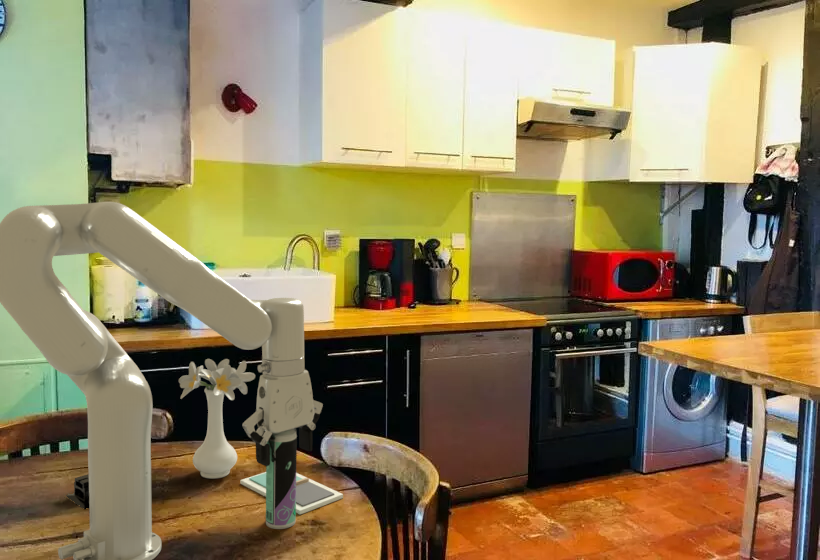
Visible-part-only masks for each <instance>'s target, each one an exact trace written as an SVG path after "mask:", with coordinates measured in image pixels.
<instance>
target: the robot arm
mask: <svg viewBox="0 0 820 560" xmlns="http://www.w3.org/2000/svg"><path fill="white" fill-rule="evenodd" d="M95 253H97V254H98V253H99V254H100V255H101V256H103V257H105V258H106V259H107V260H109V261H110V262H111V263H113V264H115V266H116V267H119V268H120V269H122V270H123V271H125V272H126V273H128V274H129V275H130V276H132V277H134V279H136V280H138V281H139V282H140V283H142V284H143V285H145V286H146V287H147V288H148V289H150V290H151V291H153V292H154V293H156V294H157V295H158V296H160V297H161V298H163V299H164V300H166V301H167V302H168V303H170V304H172V305H174V306H177V307H178V308H179V309H182V310H184V311H185V312H186V313H188V314H190V315H191V316H192V317H194V318H195V319H197V320H198V321H199V322H201V323H203V324H204V325H206V327H208V328H210V329H211V330H213V331H214V332H215V333H217V334H218V335H220V336H221V337H222V338H224V339H226V340H227V341H228V342H229V343H230V344H232V345H233V346H235V347H237V348H239V349H241V350H248V351H249V350H256V349H258V348H260V347H261V351H262V352H261V353H262V355H261V364H258V365H257V371H258V373H262V374H261V375H260V376H259V380H258V387H257V393H256V394H257V395H256V406H255V407H256V409H255V412H253V414H251V415H250V416H249V417H248V418H246V420H244V422H242V428H243V429H244V432H245V433H246V436H247V437H248V438H249V439H250V440H252V442H254V443H255V458H256V462H257V463H258V464H260V465H263V466H265V467H266V466H269V465H270V445H269V444H267V441H268V440H269V438H270V436H271V435H272V433H281V432H284V431H288V430H291V429H297V428H298V429H299V430H298V441H299V445H298V447H299V448H300V449H301V450H304V451H306V452H312V451H313V444H314V443H313V442H314V441H313V431H314V430H315V429H316V424H317V422H318V421H319V419H320V414H321V413H322V410H323V407H324V406H323V405H324V404H323V403H322V402H320V401H317V400H314V398H313V397H314V395H313V389H312V382H311V377H310V373H309V371H308V370H307V369H305V311H304V310H305V309H304V304H303V302H302V301H301V300H300V299H297V298H294V297H277V298H275V297H274V298H269V299H251V298H249V297H247V296H246V295H244V294H243V293H242V292H240V291H239V290H238V289H236V288H235V287H234V286H232V285H231V284H229V283H228V282H227V281H226V280H224V279H223V278H221V277H220V276H219V275H218V274H217V273H215V272H214V271H212V270H211V269H210V268H209V267H208V266H206V264H205V263H203V261H201V260H200V259H199V258H197V257H196V256H195V255H194V254H192V253H191V252H190V251H188V250H187V249H185V248H184V247H182V246H181V245H180V244H178V243H177V242H176V241H175V240H173V239H172V238H171V237H169V236H168V235H166V234H165V232H162V231H161V230H160V229H158V228H157V227H156V226H155V225H153V224H152V223H150V222H149V221H147V220H146V219H145V218H144V217H143V216H141V215H140V214H138V213H137V212H136V211H134V210H133V209H132V208H130V207H128V206H127V205H125V204H123V203H121V202H115V201H99V202H89V203H75V204H73V203H71V204H51V205H49V204H48V205H47V204H46V205H45V204H44V205H43V204H42V205H27V206H25V205H24V206H21V207H17V208H16V209H13V210H12V211H10V212H9V213H7V214H6V215H5V216H4V217H3V219H2V220H1V221H0V304H1V305H2V307H3V308H4V309H5V310H6V311H7V313H8V314H9V315H10V316H11V319H13V321H15V322H16V324H17V325H18V327H19V328H20V329H21V330H22V332H23V333H24V334H25V335H26V336H27V338H28V339H29V340H30V341H31V342H32V344H33V345H35V347H36V348H37V349H38V350H39V351H40V353H41V354H42V356H43V357H44V358H45V360H46V362H47V363H48V364H49V365H50V366H51V367H52V368H53V369H54V370H55V371H58V372H59V373H61V374H64V375H67V377H68V378H69V379H70V380H71V381H72V382H73V383H74V384H75V385H76V387H77V388H78V389H79V390H80V391H81V393H82V394H83V395H84V396H85V400H86V407H87V408H86V410H87V411H86V412H87V462H88V463H87V467H88V468H87V469H88V474H89V508H88V509H89V510H88V511H89V529H87V530H84V531H83V537H82V538H79V539H78V541H77V542H74V543H69V544H66V545H63V546H60V547H58V549H57V552H58V557H59V559H60V560H65V559H67V558H71V557H73V560H154V559H155V558H156V557H157V556H158V555H159V553H160V552H161V550H162V539H161V537H160V536H159V535H158V534H157V533H155V532H153V531H152V530H153V526H152V525H153V521H152V520H153V519H152V459H151V458H152V457H151V456H152V453H151V450H152V449H151V447H152V446H151V445H152V444H151V443H152V441H151V438H152V422H153V421H152V420H153V409H154V407H153V406H154V405H153V403H154V402H153V395H152V391H151V387H150V385H149V383H148V381H147V380H146V378H145V376H144V374H143V373H142V372H141V370H140V368H139V367H138V365H137V364H136V363H135V362H134V360H133V359H132V357H130V356H129V355H128V353H127V351H125V349H124V348H123V347H122V346H121V345H120V343H119V342H118V341H117V340H116V339H115V337H114V336H113V335H112V334H111V333H110V331H109V330H108V329H107V327H106V326H105V325H104V323H102V322H101V320H100V319H99V318H98V317H97V316H96V315H94V314H93V313H92V312H90V311H88V310H85V309H83V307H82V306H81V305H80V304H79V303H78V301H76V299H75V298H74V297H73V296H72V294H71V293H70V291H69V290H68V288H67V287H66V286H65V285H64V284H63V283H62V282H61V280H60V279H59V278H58V276H57V275H56V274H55V271H54V269H53V259H54V257H58V256H59V257H60V256H61V257H62V256H73V255H74V256H76V255H84V254H95ZM256 425H257V429H256V430H255V426H256Z"/></svg>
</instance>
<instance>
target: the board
mask: <svg viewBox="0 0 820 560" xmlns="http://www.w3.org/2000/svg"><path fill="white" fill-rule="evenodd" d="M240 485H242V486H244V487H246V488H248V489H250V490H252V491H254V492H255V493H258V494H259V495H261V496H263V497H265V498H266V471H265V472H261V473H258V474H255V475H252V476H250V477H246V478H243V479H240ZM343 498H344V494H343V493H341V492H340V491H337V490H334V488H331V487H328V486H326V485H324V484H322V483H319V482H317V481H316V480H313V479H312V478H309V477H307V476H304V475H303V474H299V472H296V514H297V515H303V514H305V513H309V512H311V511H313V510H315V509H318V508H322V507H323V506H326V505H328V504H331V503H334V502H336V501H340V500H342V499H343Z"/></svg>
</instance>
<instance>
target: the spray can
mask: <svg viewBox="0 0 820 560" xmlns="http://www.w3.org/2000/svg"><path fill="white" fill-rule="evenodd" d="M297 437H298V435H297V428H294V429H291V430H288V431H284V432H281V433H272V435H271V436H270V438H269V440H268V441H267V444H269V445H270V465H269V466H265V469H266V470H265V472H266V497H265V525H266V527H268V528H270V529H275V530H284V529H288V528H291V527H293V526H294V525H295V524H296V520H297V519H296V518H297V516H296V515H297V513H296V473H297V458H298V457H297V453H298V452H297V448H298V447H297V445H298V440H297V439H298V438H297Z"/></svg>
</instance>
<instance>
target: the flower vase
mask: <svg viewBox="0 0 820 560" xmlns="http://www.w3.org/2000/svg"><path fill="white" fill-rule="evenodd" d="M204 365H205V367H206V368H207V369H206V368H204ZM204 365H200V366H196V364H195V362H194V361H190V363H189V366H188V375H187V374H186V375H182V376H181V377H180V378H178V383H179V387H180V388H181V389H183V391H182V394H181V395H180V399H181V400H182V399H183V398H184V397H185V396H187V395H188V394H189V393H190V392H192V391H193V390H194V389H197V388H199V387H201V386H202V387H203V386H205V388H204V393H205V396H206V400H207V410H208V411H207V412H208V413H207V430H206V436H205V438H204V441H203V443H202V444H201V445H200V446H199V447H198V448H197V449H196V451H195V452H194V454H193V457H192V465H194V467H195V469H196V470H197V471H199V472H200V476H201V477H202V478H204V479H213V480H214V479H221V478H225V477H226V476H229V474H230V472H231V469H233V467H234V466H235V465H236V464H237V461H238V454H237V451H236V450H235V448H234V447H233V445H231V444H230V443H229V442H228V440H227V438H226V436H225V432H224V423H223V422H224V419H223V404H224V403H223V402H224V397H225V396H226V397H227V398H228V400H230V401H234V400H235V398H236V397H235V393H234V390H236V389H239V391H240V392H241V394H243V395H247V394H248V386H247V384H246V383H247V382H251V381H253V380H255V379H256V374H255V373H254V372H250V371H249V372H246V369H247V361H246V360H242V361H241V362H240V363H239V365H238V367H237V369H236V368H235V367H231V365H230V359H228V358H224V359H223V360H221V361H220V362H219V363H218V364H216V362H215V361H214V360H213V359H210V358H207V359H205V360H204ZM201 378H203V379H205V380H207V381H209V382H210V383H211V384H208V383H207V382H206V381H202V379H201Z"/></svg>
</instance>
